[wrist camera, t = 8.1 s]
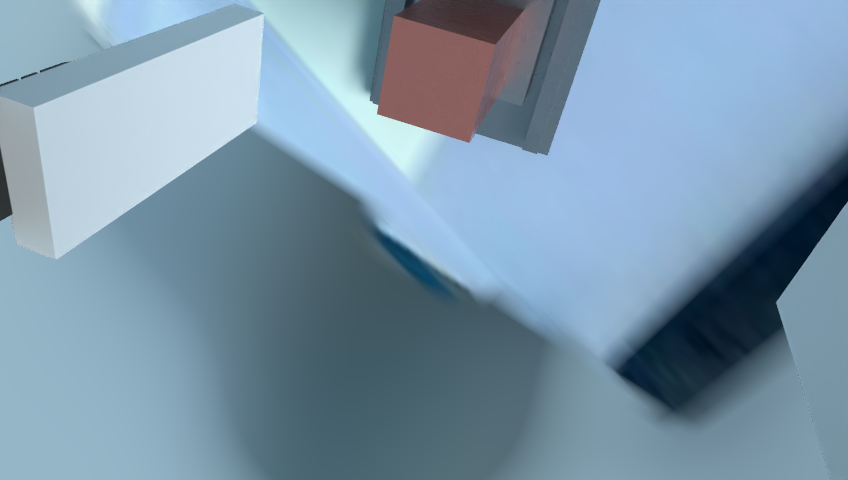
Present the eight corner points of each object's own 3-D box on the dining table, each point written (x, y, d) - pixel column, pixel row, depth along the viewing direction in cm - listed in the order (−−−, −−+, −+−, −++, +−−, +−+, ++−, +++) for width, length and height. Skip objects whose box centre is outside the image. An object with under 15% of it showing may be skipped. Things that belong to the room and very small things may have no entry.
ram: (436, -71, 37) (373, -54, 28) (567, -37, 36) (544, -8, 27) (411, 62, 42) (348, 114, 33) (526, 96, 41) (495, 160, 32)
